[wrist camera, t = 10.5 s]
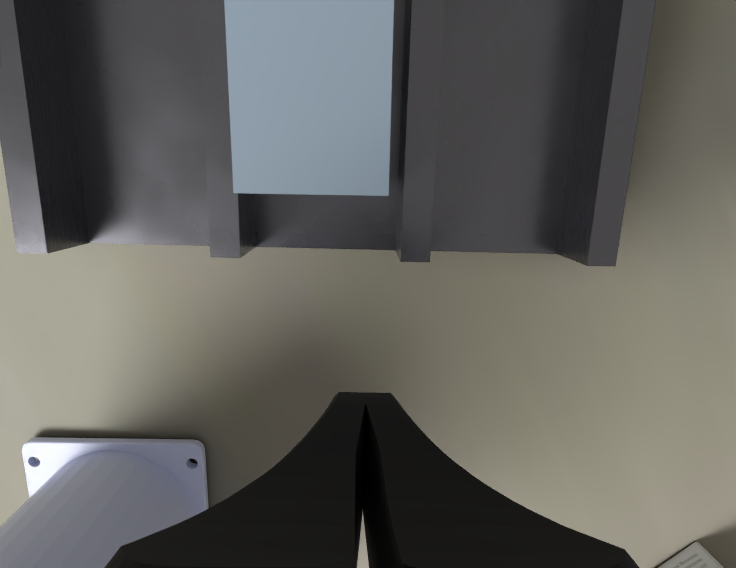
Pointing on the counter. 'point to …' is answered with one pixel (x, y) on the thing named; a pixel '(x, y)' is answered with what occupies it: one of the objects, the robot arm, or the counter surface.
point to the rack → (325, 212)
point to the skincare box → (692, 558)
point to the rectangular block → (310, 95)
